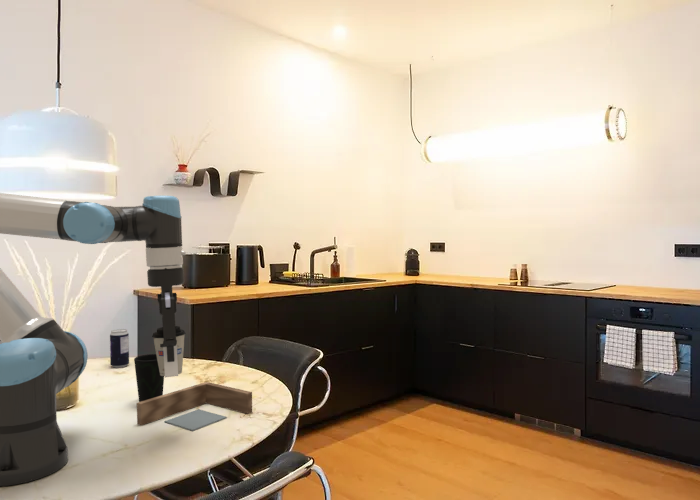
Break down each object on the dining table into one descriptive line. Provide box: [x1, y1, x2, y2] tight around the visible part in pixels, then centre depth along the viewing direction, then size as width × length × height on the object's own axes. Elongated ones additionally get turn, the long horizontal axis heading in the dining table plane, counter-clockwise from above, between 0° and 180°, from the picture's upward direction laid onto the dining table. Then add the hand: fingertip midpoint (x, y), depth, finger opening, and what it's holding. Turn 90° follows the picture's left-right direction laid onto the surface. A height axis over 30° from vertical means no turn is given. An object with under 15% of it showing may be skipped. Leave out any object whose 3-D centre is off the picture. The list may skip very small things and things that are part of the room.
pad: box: [164, 408, 228, 432], centre depth 125 cm, size 10×10×1 cm
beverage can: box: [109, 328, 130, 369], centre depth 176 cm, size 6×6×12 cm
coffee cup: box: [151, 325, 186, 377], centre depth 116 cm, size 7×7×10 cm
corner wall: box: [136, 381, 253, 427], centre depth 126 cm, size 20×16×5 cm
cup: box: [133, 353, 165, 402], centre depth 137 cm, size 8×8×12 cm
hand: (171, 371), depth 116 cm, fingers closed on coffee cup, 7 cm apart
